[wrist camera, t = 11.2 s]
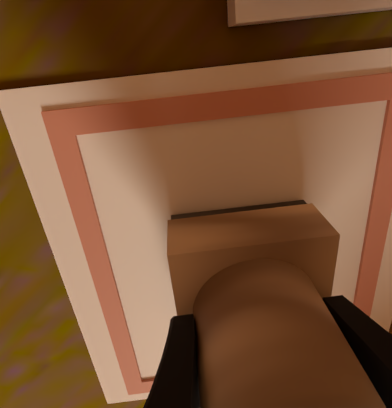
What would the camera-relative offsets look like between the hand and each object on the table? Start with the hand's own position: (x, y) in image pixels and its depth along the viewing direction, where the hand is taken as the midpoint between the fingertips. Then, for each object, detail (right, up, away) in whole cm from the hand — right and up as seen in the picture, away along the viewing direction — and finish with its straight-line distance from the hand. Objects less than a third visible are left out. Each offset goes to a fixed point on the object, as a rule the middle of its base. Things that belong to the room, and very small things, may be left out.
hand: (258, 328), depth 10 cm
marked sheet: (0, +1, +3) cm, 3 cm away
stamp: (0, +2, +2) cm, 3 cm away
